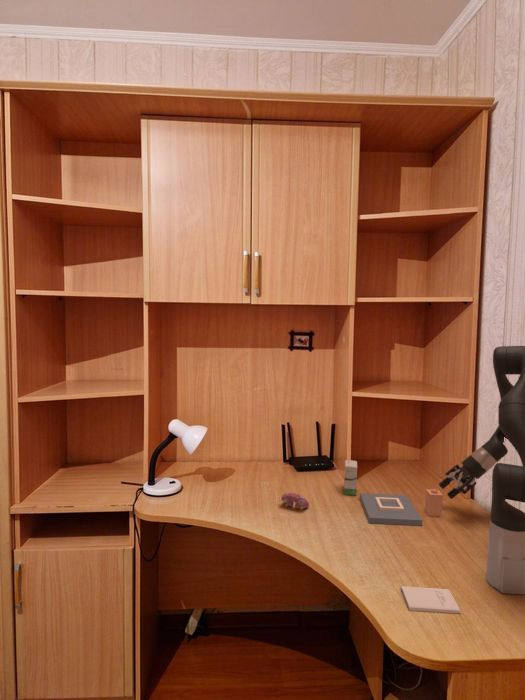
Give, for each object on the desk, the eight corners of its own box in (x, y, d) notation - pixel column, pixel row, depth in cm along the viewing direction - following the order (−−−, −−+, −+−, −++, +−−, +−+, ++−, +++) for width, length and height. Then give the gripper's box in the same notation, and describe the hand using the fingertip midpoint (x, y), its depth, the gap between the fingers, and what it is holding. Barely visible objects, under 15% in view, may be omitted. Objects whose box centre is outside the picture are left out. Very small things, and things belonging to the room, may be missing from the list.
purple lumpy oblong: (282, 508, 162) (278, 496, 158) (286, 499, 165) (283, 486, 162) (306, 515, 157) (303, 502, 154) (310, 505, 160) (308, 492, 157)
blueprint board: (422, 525, 148) (422, 516, 147) (369, 523, 149) (369, 514, 148) (406, 500, 167) (406, 492, 167) (359, 497, 169) (360, 490, 168)
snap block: (441, 516, 155) (443, 493, 154) (428, 515, 155) (430, 492, 154) (437, 510, 159) (438, 487, 158) (424, 510, 160) (426, 487, 159)
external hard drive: (400, 591, 114) (448, 593, 113) (408, 612, 106) (460, 615, 105) (400, 585, 114) (448, 587, 113) (409, 606, 106) (460, 609, 105)
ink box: (356, 496, 170) (357, 467, 169) (343, 495, 171) (344, 466, 170) (356, 487, 178) (357, 459, 177) (344, 486, 179) (345, 458, 178)
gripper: (464, 448, 161) (431, 476, 163) (480, 462, 147) (444, 492, 149) (477, 462, 161) (444, 490, 163) (495, 477, 147) (459, 508, 149)
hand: (444, 491), depth 156 cm, fingers open, 8 cm apart
